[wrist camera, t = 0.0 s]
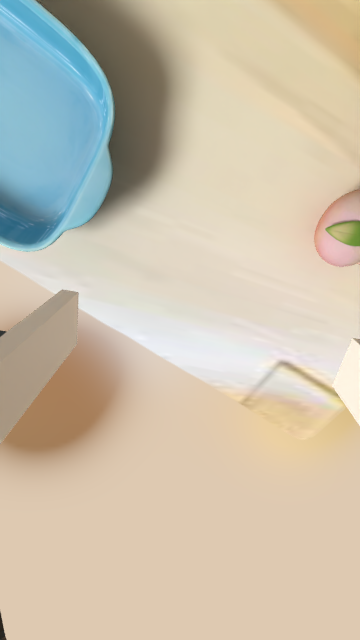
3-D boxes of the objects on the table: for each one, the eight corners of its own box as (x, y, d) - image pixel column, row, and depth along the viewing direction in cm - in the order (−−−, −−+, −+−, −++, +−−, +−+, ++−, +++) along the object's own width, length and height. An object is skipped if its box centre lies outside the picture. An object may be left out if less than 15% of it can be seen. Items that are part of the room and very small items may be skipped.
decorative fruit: (387, 189, 37) (451, 189, 28) (370, 257, 40) (422, 278, 31) (308, 188, 38) (344, 188, 28) (297, 256, 41) (326, 276, 32)
